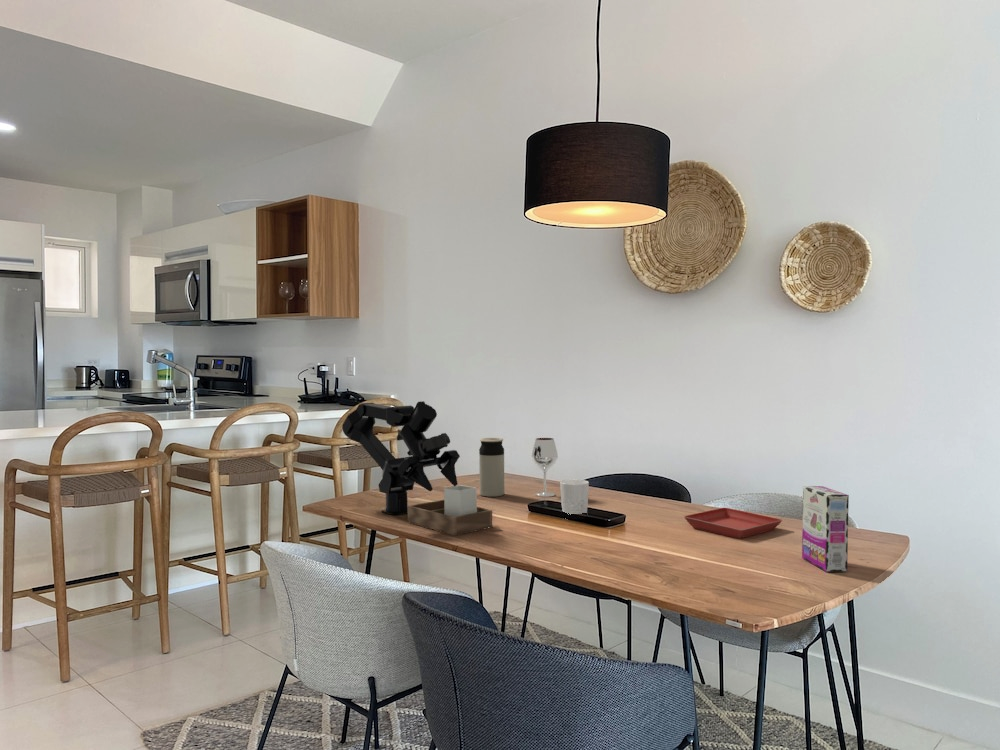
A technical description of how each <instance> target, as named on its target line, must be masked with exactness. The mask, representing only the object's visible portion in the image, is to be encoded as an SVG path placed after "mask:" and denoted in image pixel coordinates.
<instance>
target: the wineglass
mask: <svg viewBox="0 0 1000 750" xmlns="http://www.w3.org/2000/svg"><path fill="white" fill-rule="evenodd" d="M531 458H532V461H533V463H534V464H535V465H536V466H537V467H538V468H539V469H540V470H541V471H542V473H543V490H542V491H543V492H536V493H535V494H534V496H537V497H541V498H546V497H547V498H548V497H550V498H551V497H554V496H556V494H555V492H554V493H553V492H548V491H547V472H548V471H549V470H550V469H551V468H552V467H553V466H554V465H555V464H556V463H557V461H558V450H557V446H556V443H555V439H554V438H552V437H538V438H537V437H536V438H535V441H534V445H533V449H532V453H531Z"/></svg>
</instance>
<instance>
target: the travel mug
mask: <svg viewBox="0 0 1000 750" xmlns="http://www.w3.org/2000/svg"><path fill="white" fill-rule="evenodd" d="M479 441H480V444H481V445H480V447H479V449H478V450H479V453H478V454H479V455H478V456H479V460H478V464H479V465H478V467H479V468H478V470H479V473H478V475H479V476H478V477H479V478H478V479H479V495H480V496H482V497H485V496H486V498H490V497H491V498H495V497H496V498H497V497H502V496H504V495H505V448H504V446H503V441H504V438H501V437H482V438H480V439H479Z"/></svg>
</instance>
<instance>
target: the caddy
mask: <svg viewBox="0 0 1000 750" xmlns="http://www.w3.org/2000/svg"><path fill="white" fill-rule="evenodd" d="M443 489H444V490H443V492H444V493H443V495H444V496H443V498H444V499H443V500H444V515H448V516H452V517H457V516H462V515H467V514H472V513H477V507H478V506H477V505H478V500H477V498H478V496H477V495H478V494H477V493H478V492H477V487H474V486H470V485H469V486H468V485H463V484H459V485H458V484H457V486H454V485H453V486H449V487H448V486H447V487H444V488H443Z"/></svg>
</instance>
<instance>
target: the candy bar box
mask: <svg viewBox="0 0 1000 750" xmlns="http://www.w3.org/2000/svg"><path fill="white" fill-rule="evenodd" d="M849 497H850V496H849V494H846V493H843V492H841V491H839V490H838V491H837V490H835V489H833V488H832V489H831V488H829V487H827V486H824V485H823V486H822V485H821V486H820V485H819V486H817V485H816V486H815V485H809V486H803V487H802V536H801V537H802V539H801V540H802V541H801V544H802V545H801V546H802V547H801V555H802V556H801V558H802V559H803V560H805V562H808V563H810V564H811V565H813V566H815V567H817V568H819V569H820V570H822V571H824V572H826V573H845V572H848V550H849V548H848V547H849V546H848V545H849V544H848V543H849V533H848V532H849V505H850V504H849V503H850V502H849Z"/></svg>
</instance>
